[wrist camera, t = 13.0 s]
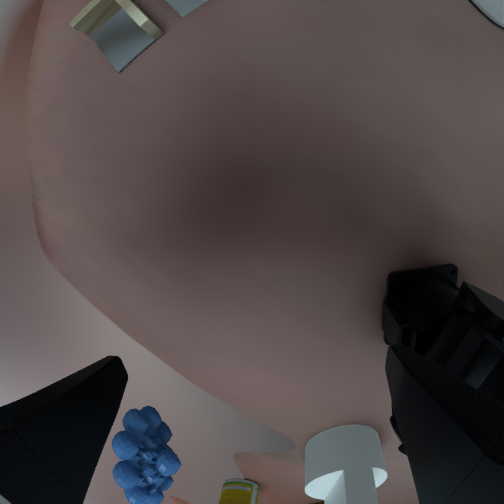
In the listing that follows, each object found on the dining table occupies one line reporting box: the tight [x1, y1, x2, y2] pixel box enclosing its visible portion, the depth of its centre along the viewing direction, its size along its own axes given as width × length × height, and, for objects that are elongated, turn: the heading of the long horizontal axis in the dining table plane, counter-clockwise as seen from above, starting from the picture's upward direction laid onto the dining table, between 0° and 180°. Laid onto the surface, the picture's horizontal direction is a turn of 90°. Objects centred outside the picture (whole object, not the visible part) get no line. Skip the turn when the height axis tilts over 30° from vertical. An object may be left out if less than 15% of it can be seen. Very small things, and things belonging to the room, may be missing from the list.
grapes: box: [112, 406, 181, 504], centre depth 23 cm, size 12×7×12 cm, turn 11°
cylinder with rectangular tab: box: [305, 424, 387, 504], centre depth 21 cm, size 9×9×12 cm
